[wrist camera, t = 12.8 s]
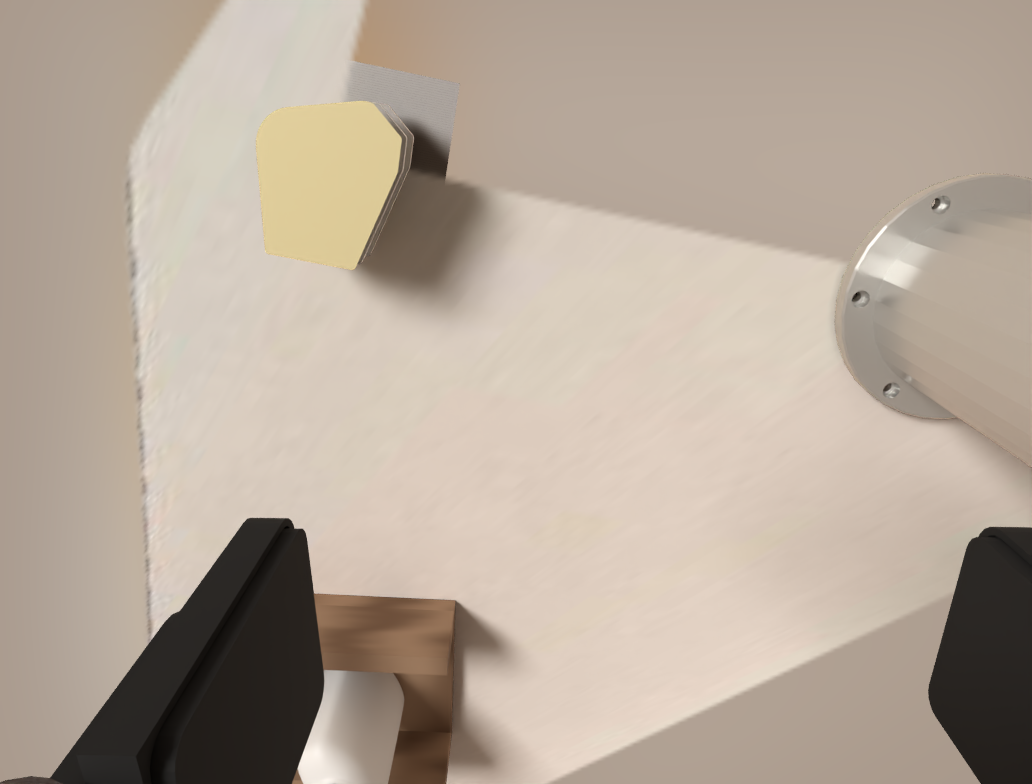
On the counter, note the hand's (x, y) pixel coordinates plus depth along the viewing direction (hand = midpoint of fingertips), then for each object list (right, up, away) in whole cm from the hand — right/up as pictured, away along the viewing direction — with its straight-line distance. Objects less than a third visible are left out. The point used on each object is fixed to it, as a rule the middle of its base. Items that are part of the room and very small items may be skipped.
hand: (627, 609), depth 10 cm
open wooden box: (-11, -15, +35) cm, 40 cm away
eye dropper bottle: (-11, -15, +35) cm, 39 cm away
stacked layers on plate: (-10, +14, +25) cm, 30 cm away
